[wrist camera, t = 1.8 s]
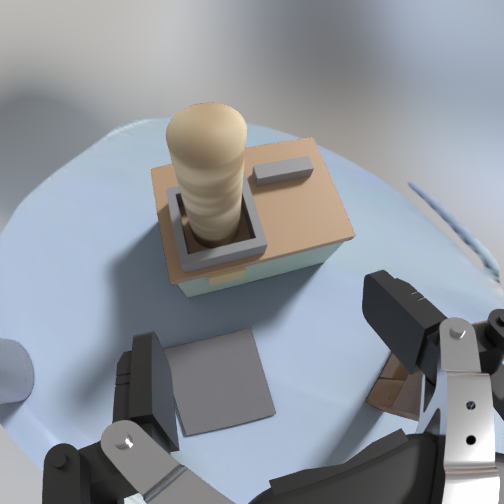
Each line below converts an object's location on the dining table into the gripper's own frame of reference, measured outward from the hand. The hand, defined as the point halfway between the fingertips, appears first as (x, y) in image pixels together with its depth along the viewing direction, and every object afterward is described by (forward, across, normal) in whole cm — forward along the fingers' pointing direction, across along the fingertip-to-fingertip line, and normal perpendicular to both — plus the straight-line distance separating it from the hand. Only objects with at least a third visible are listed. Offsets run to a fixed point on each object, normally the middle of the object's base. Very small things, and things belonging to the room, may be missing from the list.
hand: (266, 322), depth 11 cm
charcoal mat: (+16, +4, +22) cm, 27 cm away
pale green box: (+28, -4, +10) cm, 30 cm away
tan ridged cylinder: (+19, 0, +4) cm, 20 cm away
